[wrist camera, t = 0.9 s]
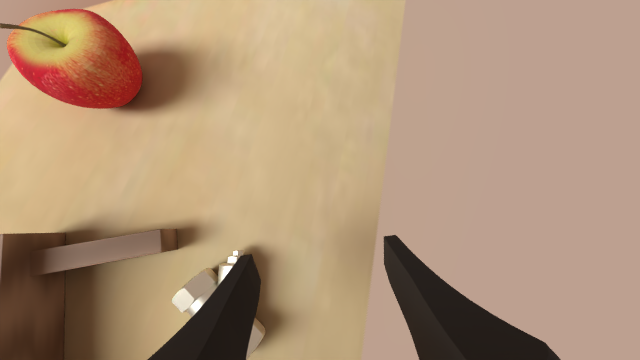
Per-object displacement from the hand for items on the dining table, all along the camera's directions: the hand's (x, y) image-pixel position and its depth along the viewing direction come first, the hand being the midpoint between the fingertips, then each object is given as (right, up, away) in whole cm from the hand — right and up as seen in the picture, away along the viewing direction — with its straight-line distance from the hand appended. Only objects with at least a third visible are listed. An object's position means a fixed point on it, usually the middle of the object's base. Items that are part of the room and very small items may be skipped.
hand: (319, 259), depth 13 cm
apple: (-22, +14, +14) cm, 30 cm away
